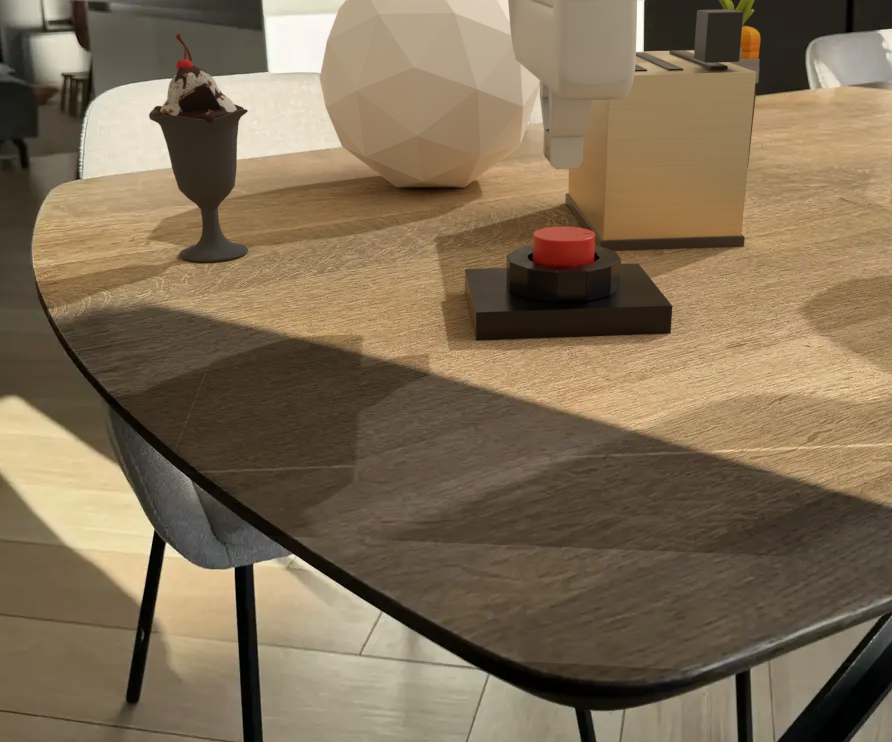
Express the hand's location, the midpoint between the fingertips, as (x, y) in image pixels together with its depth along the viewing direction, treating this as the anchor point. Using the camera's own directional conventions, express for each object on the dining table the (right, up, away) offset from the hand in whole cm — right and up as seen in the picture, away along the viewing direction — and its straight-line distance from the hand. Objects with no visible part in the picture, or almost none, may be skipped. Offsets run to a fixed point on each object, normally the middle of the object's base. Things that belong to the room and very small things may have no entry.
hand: (562, 164), depth 63 cm
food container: (+20, +13, +48) cm, 54 cm away
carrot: (+25, +19, +61) cm, 69 cm away
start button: (0, -5, +2) cm, 6 cm away
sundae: (-24, -2, +18) cm, 30 cm away
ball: (-8, +8, +40) cm, 41 cm away
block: (0, -8, +4) cm, 9 cm away
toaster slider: (+12, +11, +14) cm, 22 cm away
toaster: (+9, +2, +24) cm, 26 cm away
